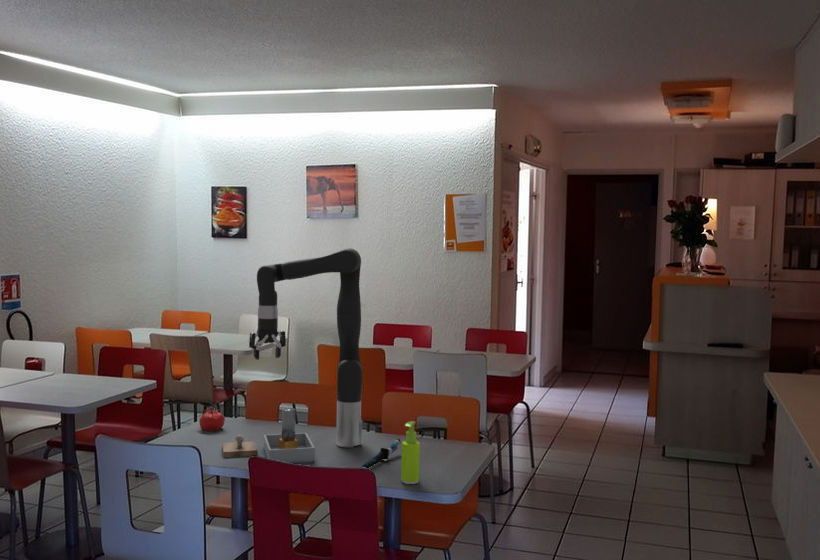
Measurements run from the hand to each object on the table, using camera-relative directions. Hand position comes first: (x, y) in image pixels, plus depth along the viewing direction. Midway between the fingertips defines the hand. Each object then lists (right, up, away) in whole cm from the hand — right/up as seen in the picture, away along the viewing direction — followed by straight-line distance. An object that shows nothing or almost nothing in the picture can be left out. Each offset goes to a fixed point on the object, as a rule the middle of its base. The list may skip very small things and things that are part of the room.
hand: (267, 358), depth 298 cm
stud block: (-8, -33, -15) cm, 37 cm away
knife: (+44, -35, -25) cm, 62 cm away
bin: (+11, -33, -17) cm, 39 cm away
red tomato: (-26, -31, +17) cm, 43 cm away
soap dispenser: (+55, -36, -45) cm, 80 cm away
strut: (+11, -33, -17) cm, 38 cm away
